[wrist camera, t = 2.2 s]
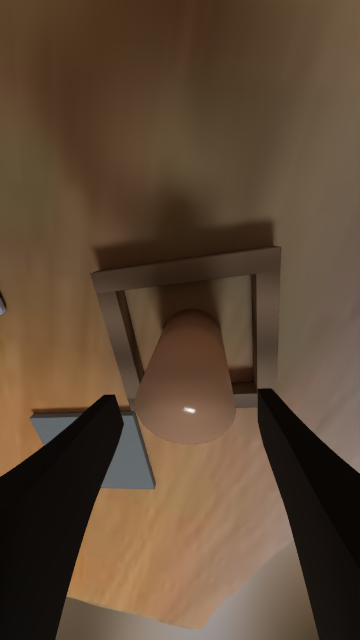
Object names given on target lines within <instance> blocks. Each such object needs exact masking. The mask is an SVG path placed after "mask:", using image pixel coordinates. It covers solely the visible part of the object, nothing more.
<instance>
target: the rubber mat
mask: <svg viewBox="0 0 360 640" xmlns="http://www.w3.org/2000/svg"><path fill="white" fill-rule="evenodd" d="M120 412H121V415H122V418H123V422H124V426H123V430H122V434H121V437H120V440H119V444H118V446H117V449H116V451H115V454H114V456H113V459H112V461H111V464H110V466H109V469H108V471H107V473H106V476H105V478H104V481H103V483H102V485H101V488H120V489H155V486H156V483H155V480H154V476H153V473H152V469H151V466H150V462H149V459H148V455H147V452H146V449H145V445H144V442H143V438H142V435H141V431H140V428H139V424H138V421H137V418H136V414H135V411H120ZM83 413H84V412H83ZM83 413H50V414H33V415H32V416H31V417H30V420H31V422H32V424H33V426H34V428H35V430H36V431H37V433H38V435H39V437H40V439H41V441H42V443H43V444H44V446H45V445H46V444H47V443H48V442H49V441H51V440H52V439H53V438H54V437H56V436H57V435H58V434H59V433H60V432H62V431H63V430H64V429H65V428H66V427H68V426H69V425H70V424H71V423H72V422H73V421H75V420H76V419H77V418H78V417H79V416H80V415H81V414H83Z"/></svg>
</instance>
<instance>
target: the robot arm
mask: <svg viewBox="0 0 360 640" xmlns="http://www.w3.org/2000/svg"><path fill="white" fill-rule="evenodd" d="M4 312H5V307H4V304H3V302H2V300H1V298H0V314H2V313H4ZM258 424H259V429H260V433H261V437H262V441H263V445H264V448H265V451H266V454H267V456H268V459H269V462H270V465H271V468H272V471H273V474H274V477H275V479H276V482H277V485H278V488H279V491H280V494H281V497H282V500H283V503H284V506H285V509H286V512H287V515H288V519H289V523H290V526H291V530H292V534H293V538H294V541H295V545H296V548H297V553H298V557H299V560H300V564H301V567H302V572H303V576H304V580H305V584H306V587H307V591H308V595H309V600H310V603H311V608H312V611H313V615H314V620H315V624H316V628H317V632H318V636H319V640H360V473H358V472H357V471H356V470H355V469H353V468H352V467H351V466H350V465H349V464H347V463H346V462H345V461H344V460H343V459H342V458H340V457H339V456H338V455H337V454H336V453H335V452H334V451H332V450H331V449H330V448H329V447H328V446H327V445H326V444H325V443H324V442H323V441H322V440H320V439H319V438H318V437H317V436H316V435H315V434H314V433H313V432H312V431H311V430H310V429H309V428H308V427H307V426H306V425H305V424H304V423H303V422H302V421H301V420H300V419H299V418H298V417H297V416H296V415H295V414H294V413H293V412H292V411H291V409H290V408H289V407H288V406H287V405H286V404H285V403H284V402H283V401H282V399H281V398H280V397H279V396H278V395H277V394H276V392H275V391H274V390H273V389H272V388H261V389H258ZM123 426H124V422H123V418H122V415H121V412H120V409H119V406H118V403H117V400H116V397H115V395H103V396H102V397H101V398H100V399H98V400H97V401H96V402H95V403H94V404H93V405H92V406H90V407H89V408H88V409H87V410H86V411H85V412H84V413H83V414H81V415H80V416H79V417H78V418H77V419H76V420H75V421H73V422H72V423H71V424H70V425H69V426H68V427H66V428H65V429H64V430H63V431H62V432H60V433H59V434H58V435H57V436H56V437H54V438H53V439H52V440H51V441H49V442H48V443H47V444H46V445H45V446H43V447H42V448H41V449H39V450H38V451H37V452H35V453H34V454H33V455H31V456H30V457H29V458H27V459H26V460H24V461H23V462H22V463H20V464H19V465H17V466H16V467H15V468H13V469H12V470H10V471H9V472H7V473H6V474H4V475H3V476H1V477H0V640H55V638H56V634H57V630H58V626H59V622H60V618H61V614H62V610H63V606H64V603H65V599H66V595H67V592H68V588H69V585H70V581H71V577H72V574H73V570H74V566H75V563H76V560H77V556H78V553H79V550H80V546H81V543H82V540H83V536H84V533H85V530H86V527H87V524H88V521H89V518H90V515H91V512H92V509H93V506H94V503H95V500H96V498H97V495H98V493H99V490H100V488H101V485H102V483H103V481H104V478H105V476H106V473H107V471H108V469H109V466H110V464H111V461H112V459H113V456H114V454H115V451H116V449H117V446H118V444H119V440H120V437H121V434H122V430H123Z"/></svg>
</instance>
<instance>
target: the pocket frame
mask: <svg viewBox="0 0 360 640" xmlns="http://www.w3.org/2000/svg"><path fill="white" fill-rule="evenodd" d="M280 265H281V247H279V246H268V247H261V248H254V249H247V250H240V251H233V252H226V253H218V254H211V255H204V256H197V257H190V258H183V259H176V260H169V261H161V262H154V263H147V264H140V265H133V266H126V267H119V268H112V269H104V270H99V271H96V272H93V273H90V274H91V277H92V281H93V284H94V287H95V291H96V294H97V297H98V301H99V304H100V308H101V311H102V314H103V318H104V321H105V324H106V328H107V331H108V334H109V338H110V341H111V345H112V348H113V351H114V355H115V358H116V361H117V365H118V368H119V371H120V375H121V378H122V382H123V385H124V388H125V392H126V395H127V398H128V402H129V405H130V408H131V411H136V408H135V397H136V393H137V390H138V388H139V385H140V383H141V381H142V378H143V376H144V372H143V368H142V363H141V359H140V355H139V351H138V347H137V343H136V339H135V335H134V331H133V327H132V323H131V319H130V315H129V311H128V307H127V303H126V299H125V295H124V291H123V290H128V289H137V288H145V287H153V286H161V285H169V284H177V283H186V282H194V281H202V280H210V279H218V278H226V277H234V276H243V275H251V274H252V329H253V382H239V383H231V385H232V390H233V395H234V400H235V407H236V408H250V407H258V389H261V388H272V389H273V390H274V391H275V392H276V387H277V357H278V326H279V296H280Z"/></svg>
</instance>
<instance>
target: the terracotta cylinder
mask: <svg viewBox="0 0 360 640" xmlns="http://www.w3.org/2000/svg"><path fill="white" fill-rule="evenodd" d="M135 408H136V412H137V414H138V417H139V418H140V420H141V422H142V423H143V424H144V425H145V427H146V428H147V429H149V430H150V431H151V432H152V433H154V434H155V435H157V436H158V437H160V438H162V439H165V440H167V441H170V442H173V443H178V444H186V445H194V444H202V443H206V442H209V441H212V440H214V439H216V438H218V437H220V436H221V435H223V434H224V433H225V432H226V431H227V430H228V429H229V427H230V426H231V424H232V423H233V420H234V418H235V412H236V407H235V400H234V395H233V390H232V385H231V380H230V375H229V370H228V364H227V359H226V354H225V349H224V344H223V339H222V334H221V329H220V327H219V324H218V323H217V321H216V320H215V319H214V318H213V317H212V316H211V315H209V314H208V313H206V312H203V311H201V310H196V309H187V310H183V311H180V312H177V313H176V314H174V315H173V316H172V317H170V319H169V320H168V321H167V322H166V324H165V327H164V329H163V331H162V334H161V336H160V338H159V341H158V343H157V345H156V348H155V350H154V352H153V355H152V357H151V359H150V362H149V364H148V367H147V369H146V371H145V374H144V376H143V378H142V381H141V383H140V385H139V388H138V390H137V393H136V397H135Z"/></svg>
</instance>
